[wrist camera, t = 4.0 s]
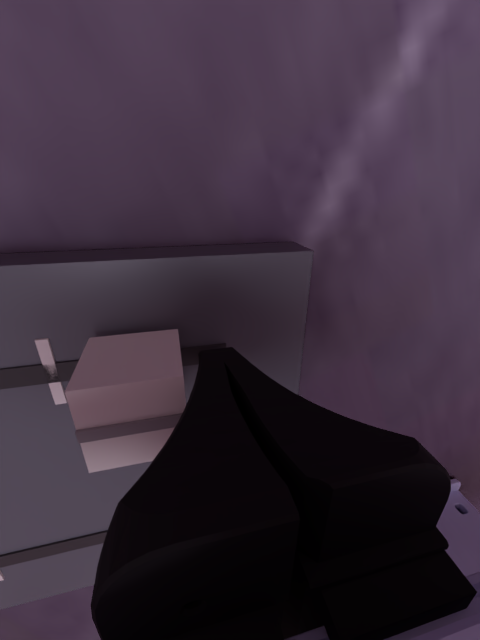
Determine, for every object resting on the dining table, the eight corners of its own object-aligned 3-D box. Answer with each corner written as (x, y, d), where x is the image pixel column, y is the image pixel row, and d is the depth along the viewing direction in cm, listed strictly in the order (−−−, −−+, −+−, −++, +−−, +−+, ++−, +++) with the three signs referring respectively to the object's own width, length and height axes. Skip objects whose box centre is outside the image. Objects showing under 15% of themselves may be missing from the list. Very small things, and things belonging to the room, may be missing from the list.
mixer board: (293, 241, 13) (314, 251, 11) (272, 504, 21) (283, 536, 19) (-332, 267, 9) (-461, 289, 7) (-71, 587, 16) (-101, 638, 15)
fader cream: (177, 329, 11) (183, 377, 8) (183, 394, 12) (190, 456, 9) (89, 337, 10) (63, 394, 8) (105, 406, 12) (88, 476, 9)
